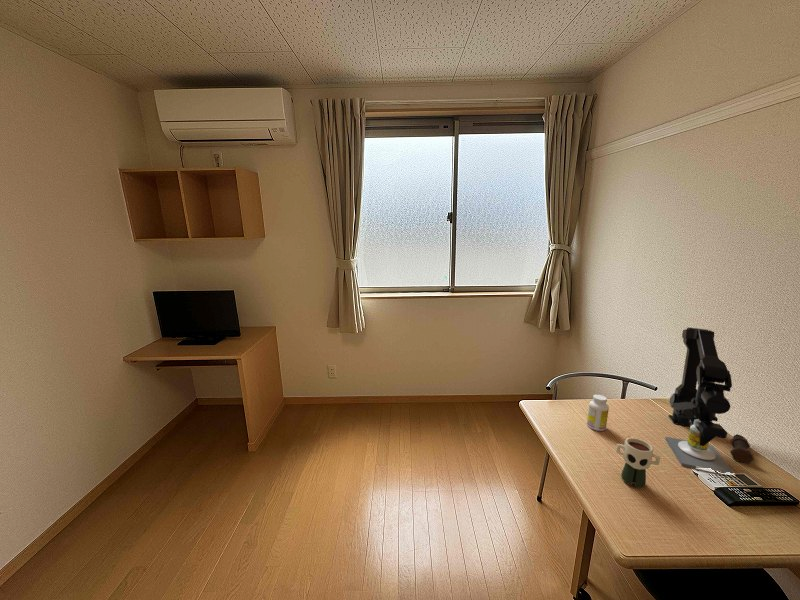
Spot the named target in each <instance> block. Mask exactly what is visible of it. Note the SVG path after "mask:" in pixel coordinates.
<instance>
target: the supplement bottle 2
mask: <svg viewBox="0 0 800 600" xmlns="http://www.w3.org/2000/svg"><path fill="white" fill-rule="evenodd" d="M699 423H700V421H699V420H698V419H696V420H694V425H691V427H690V426H689V433H688V438H687V441H688V442H687V444H688V446H689V447H691V448H692V449H694V450H697V451H702V452H705V451H707V449H708V445H710V444H709V443H710V442H708V443H707V444H706V445H705V446H701V445H700V431H699V430H698V429H697V428H696V427H695V426H698V425H699Z"/></svg>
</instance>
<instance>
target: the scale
mask: <svg viewBox="0 0 800 600" xmlns="http://www.w3.org/2000/svg"><path fill="white" fill-rule="evenodd" d="M664 439H665V441H666V442H667V445H668V446H669V448H670V449H671V451H672V452H673V454H674V456H675V458H676V460H677V461H678V463H679V464H680V466H682V467H685V468H691V469H695V468H711V469H712V470H715V471H720V472H730V473H735V471H734V469H732V468H731V466H730V465H729V464H728V463H727V461H726V460H725V459H724V458H723V457H722V456H721V454H720V453H719V452H718V451H717V449H716V448H715V447H714V445H711V444H708V449H707V451H705V452H702V451H697V450H694V449H692V448H691V447H689V446H688V444H687V442H688V440H685V439H680V438H675V437H671V436H670V437H669V436H665V438H664ZM720 468H722V469H720Z"/></svg>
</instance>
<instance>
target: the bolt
mask: <svg viewBox="0 0 800 600" xmlns="http://www.w3.org/2000/svg"><path fill="white" fill-rule="evenodd" d="M730 444H731V445H732V447H733V448H732V449H731V450H730V451H729V452H730V454H731V457H732V459H733V460H734V461H735V462H736V463H740V464H744V465H749V464H751V463H753V462H754V461H755V457H754V455H753V453H752V451H751V449H750V447H751V445H750V443H749V441H748V439H747V438H746V437H744V436H743V435H740V434H734V435H733V437H732V438H731V439H730Z"/></svg>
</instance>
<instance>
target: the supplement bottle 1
mask: <svg viewBox="0 0 800 600" xmlns="http://www.w3.org/2000/svg"><path fill="white" fill-rule="evenodd" d="M592 399H593V400H591V401H590V402H589V403H588V404H589V405H588V412H587V420H586V421H587V422H586V424H587V426H588V427H589V428H590V429H591V430H593V431H597V432H604V431H605V430H606V429H607V424H608V417H609V411H610V406H609V404H608V403H607V401H608V398H607V397H606V396H604V395H602V394H593V397H592Z"/></svg>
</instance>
